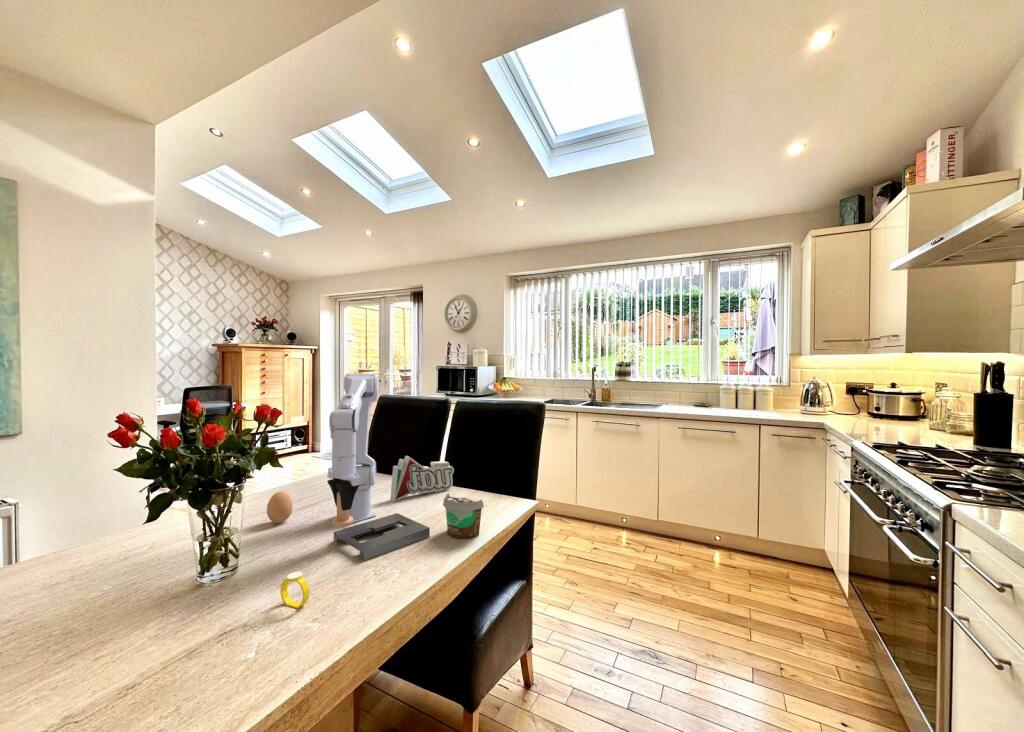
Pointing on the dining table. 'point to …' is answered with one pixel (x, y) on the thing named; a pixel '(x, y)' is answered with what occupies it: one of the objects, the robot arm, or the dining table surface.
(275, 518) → the egg
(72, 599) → the dining table surface
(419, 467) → the decorative sign
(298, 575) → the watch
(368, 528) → the keyhole plate
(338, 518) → the peg
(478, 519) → the food container
